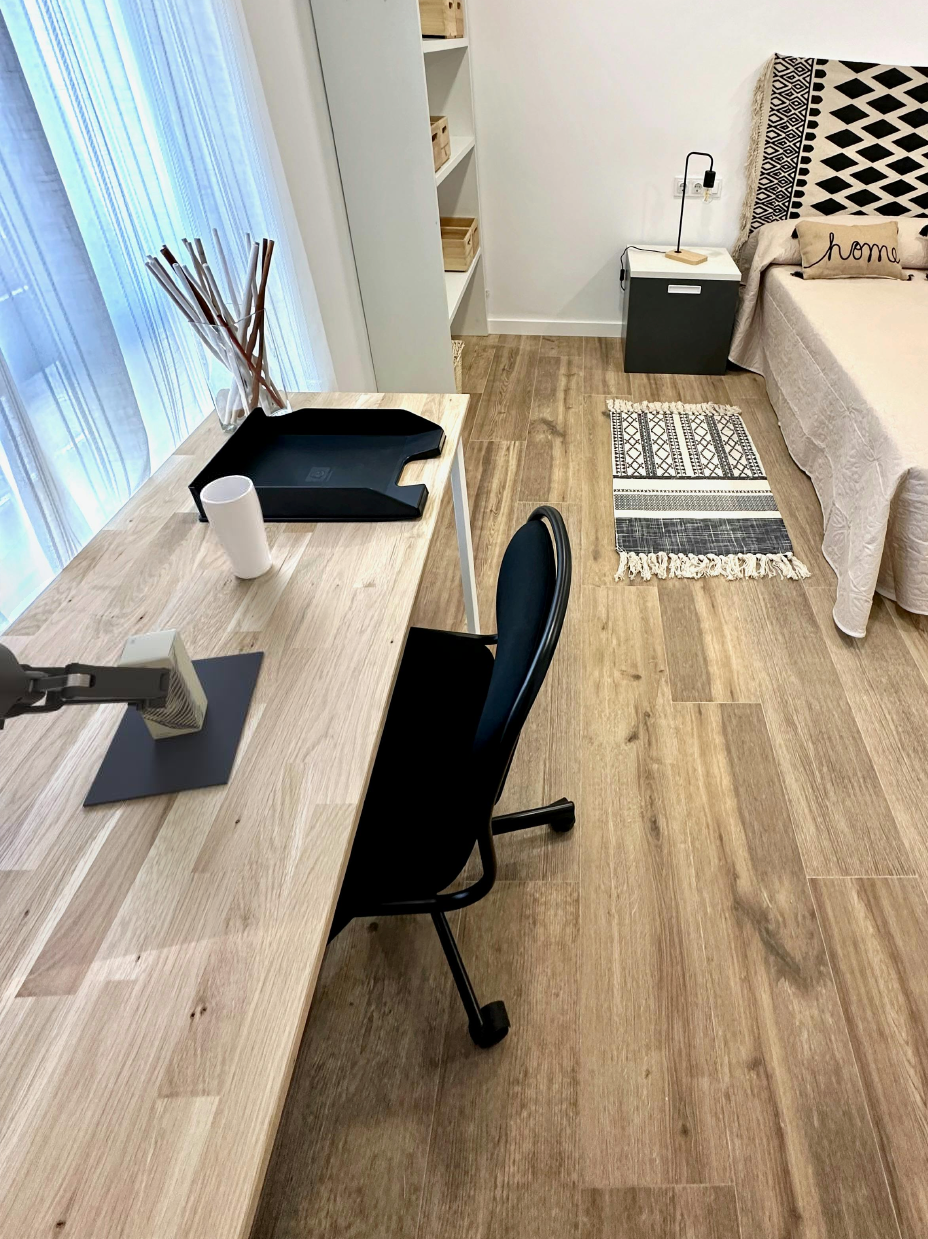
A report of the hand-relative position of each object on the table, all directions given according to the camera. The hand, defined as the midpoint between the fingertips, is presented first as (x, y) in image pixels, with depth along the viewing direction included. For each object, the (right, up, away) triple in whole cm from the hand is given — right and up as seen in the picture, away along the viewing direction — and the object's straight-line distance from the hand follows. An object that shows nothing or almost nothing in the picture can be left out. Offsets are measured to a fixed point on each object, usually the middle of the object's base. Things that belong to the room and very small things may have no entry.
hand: (84, 704), depth 64 cm
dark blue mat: (+1, -8, +14) cm, 16 cm away
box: (+1, -7, +14) cm, 16 cm away
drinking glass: (-2, +6, +36) cm, 36 cm away
